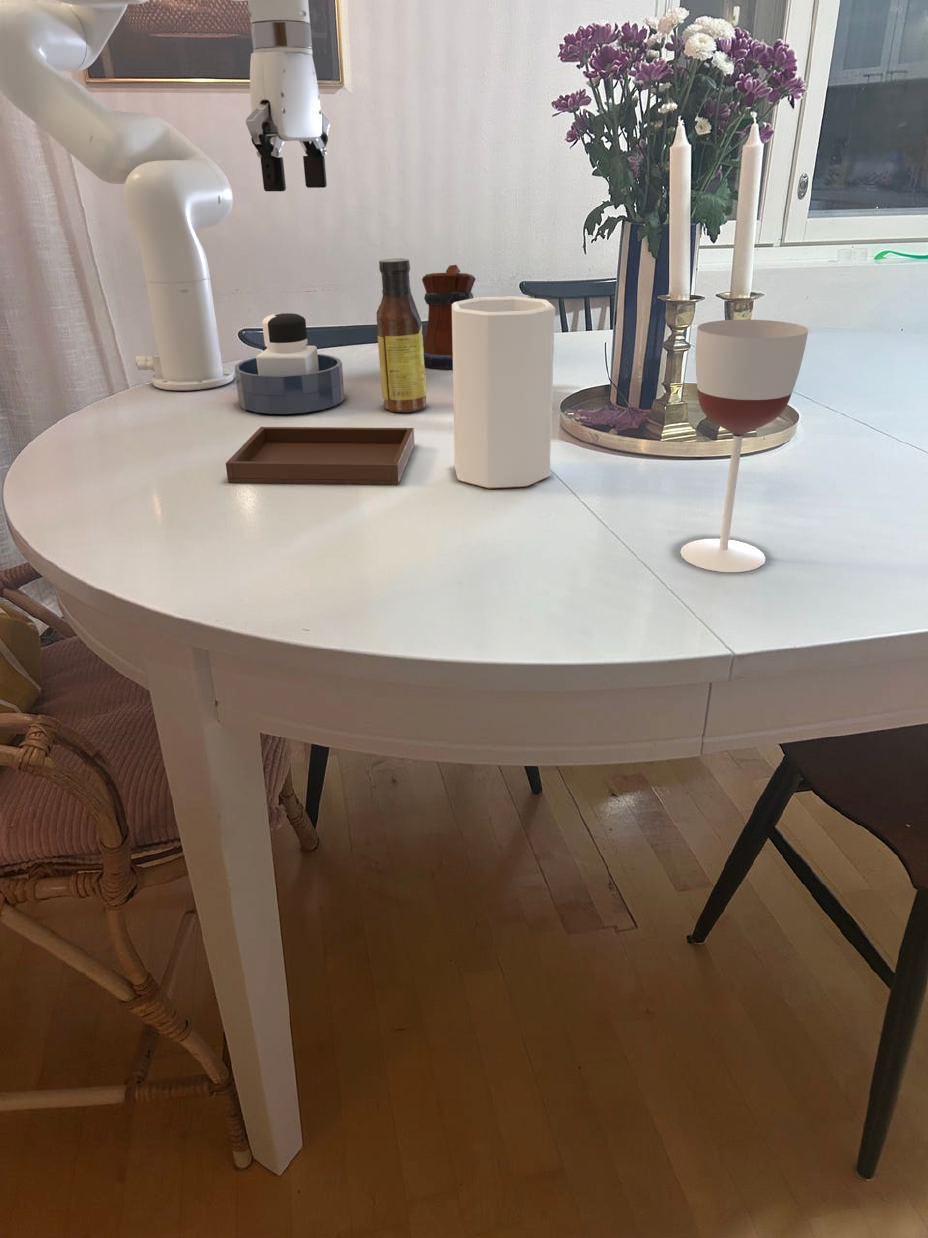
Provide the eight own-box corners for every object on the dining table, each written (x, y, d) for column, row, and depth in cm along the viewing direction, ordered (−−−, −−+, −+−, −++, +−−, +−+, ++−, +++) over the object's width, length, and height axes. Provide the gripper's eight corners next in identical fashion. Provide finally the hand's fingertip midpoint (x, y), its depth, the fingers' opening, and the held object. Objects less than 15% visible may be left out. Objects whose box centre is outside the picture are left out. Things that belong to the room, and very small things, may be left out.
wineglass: (663, 540, 86) (684, 321, 76) (753, 535, 86) (785, 318, 77) (689, 575, 79) (715, 339, 69) (786, 570, 79) (826, 335, 70)
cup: (482, 496, 97) (481, 316, 88) (436, 467, 105) (431, 301, 97) (569, 479, 101) (576, 306, 92) (518, 452, 110) (521, 292, 101)
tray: (228, 482, 102) (225, 463, 101) (262, 444, 114) (260, 426, 113) (398, 484, 100) (397, 464, 99) (414, 445, 113) (413, 427, 112)
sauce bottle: (435, 407, 129) (431, 258, 120) (404, 416, 125) (396, 263, 116) (404, 400, 133) (397, 255, 124) (372, 408, 129) (363, 259, 120)
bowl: (226, 415, 127) (220, 376, 124) (256, 389, 140) (251, 352, 138) (332, 416, 126) (329, 376, 123) (352, 389, 139) (350, 353, 136)
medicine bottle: (321, 394, 136) (314, 310, 130) (309, 406, 129) (301, 319, 124) (275, 393, 136) (265, 310, 131) (261, 406, 130) (250, 319, 124)
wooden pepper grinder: (424, 347, 166) (421, 260, 159) (486, 347, 165) (486, 260, 158) (413, 370, 150) (409, 274, 143) (482, 369, 149) (482, 273, 142)
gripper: (296, 48, 124) (309, 186, 132) (215, 37, 110) (234, 192, 118) (343, 44, 121) (353, 186, 129) (265, 33, 107) (281, 192, 115)
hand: (296, 189), depth 124 cm, fingers open, 9 cm apart
